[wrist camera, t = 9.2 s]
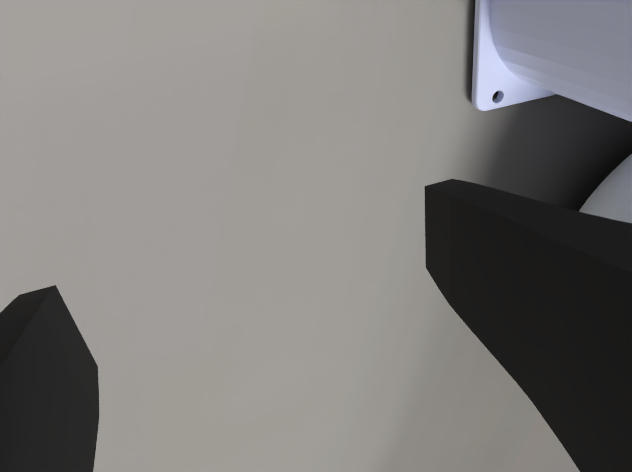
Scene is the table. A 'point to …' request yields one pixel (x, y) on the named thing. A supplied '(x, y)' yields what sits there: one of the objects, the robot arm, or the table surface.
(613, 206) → the serving bowl
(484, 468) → the table surface
